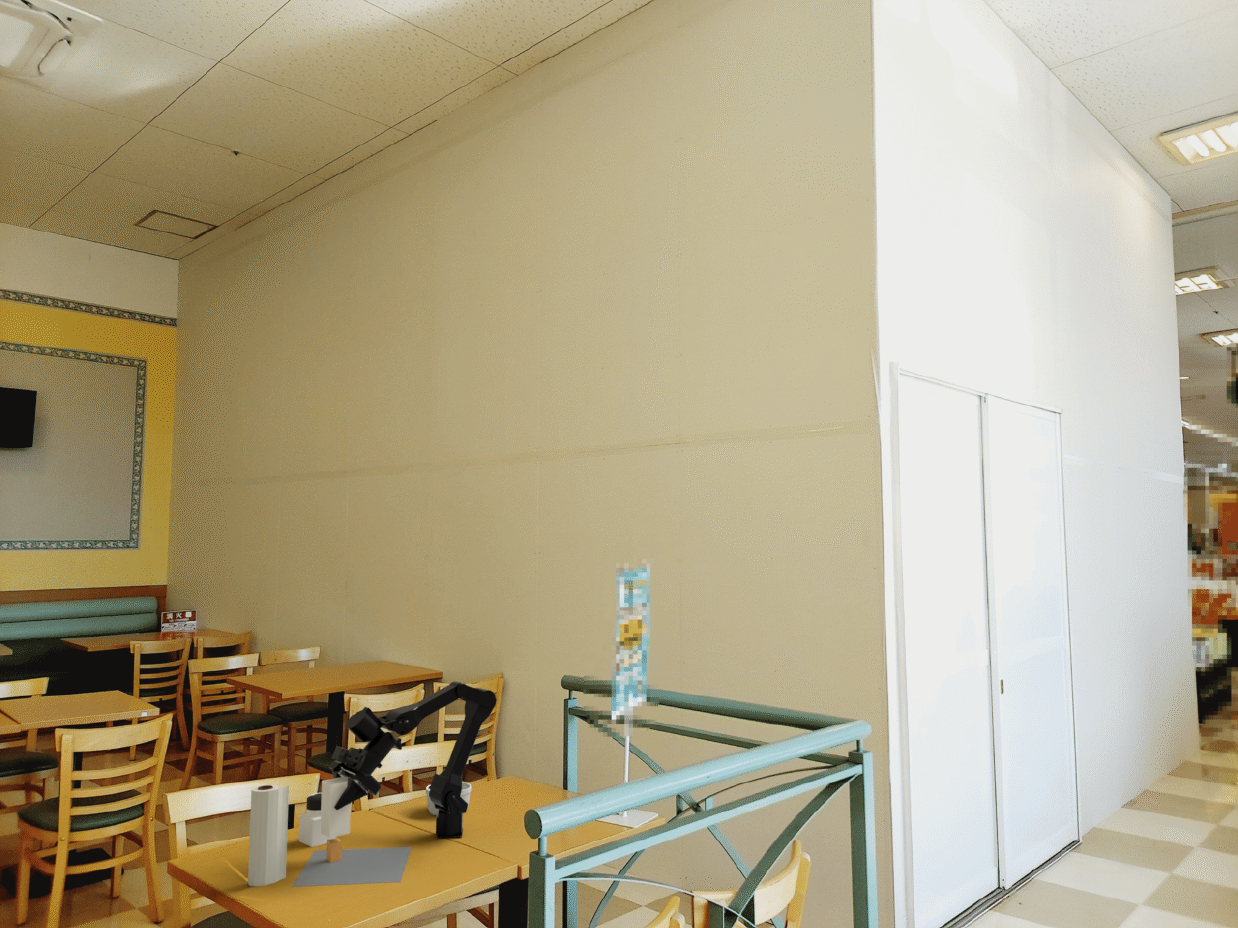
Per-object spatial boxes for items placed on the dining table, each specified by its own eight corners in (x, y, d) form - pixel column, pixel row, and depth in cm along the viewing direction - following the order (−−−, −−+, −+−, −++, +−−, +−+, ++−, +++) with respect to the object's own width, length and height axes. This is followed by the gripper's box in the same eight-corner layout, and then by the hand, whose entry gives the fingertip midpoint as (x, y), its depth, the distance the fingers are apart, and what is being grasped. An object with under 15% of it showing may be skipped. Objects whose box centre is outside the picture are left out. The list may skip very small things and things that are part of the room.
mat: (411, 848, 227) (411, 846, 227) (400, 883, 203) (400, 881, 203) (314, 851, 224) (314, 850, 224) (291, 888, 200) (291, 886, 200)
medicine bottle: (337, 841, 232) (338, 794, 233) (311, 848, 227) (313, 799, 228) (323, 835, 237) (324, 789, 238) (297, 842, 232) (299, 794, 233)
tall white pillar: (340, 828, 221) (342, 777, 222) (349, 833, 217) (351, 781, 218) (320, 832, 217) (322, 780, 219) (329, 838, 214) (330, 785, 215)
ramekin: (426, 805, 265) (426, 781, 265) (470, 803, 267) (471, 779, 268) (424, 818, 252) (425, 793, 252) (471, 816, 254) (472, 791, 255)
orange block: (336, 857, 219) (337, 837, 219) (340, 859, 217) (341, 840, 217) (326, 859, 217) (326, 840, 218) (330, 862, 215) (331, 842, 216)
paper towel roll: (242, 886, 201) (245, 789, 203) (257, 877, 207) (261, 782, 209) (271, 889, 200) (274, 791, 202) (285, 879, 206) (289, 784, 208)
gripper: (337, 727, 229) (293, 779, 221) (369, 739, 215) (324, 794, 207) (365, 754, 233) (323, 805, 225) (398, 767, 219) (355, 822, 211)
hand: (330, 806), depth 217 cm, fingers closed on tall white pillar, 5 cm apart
